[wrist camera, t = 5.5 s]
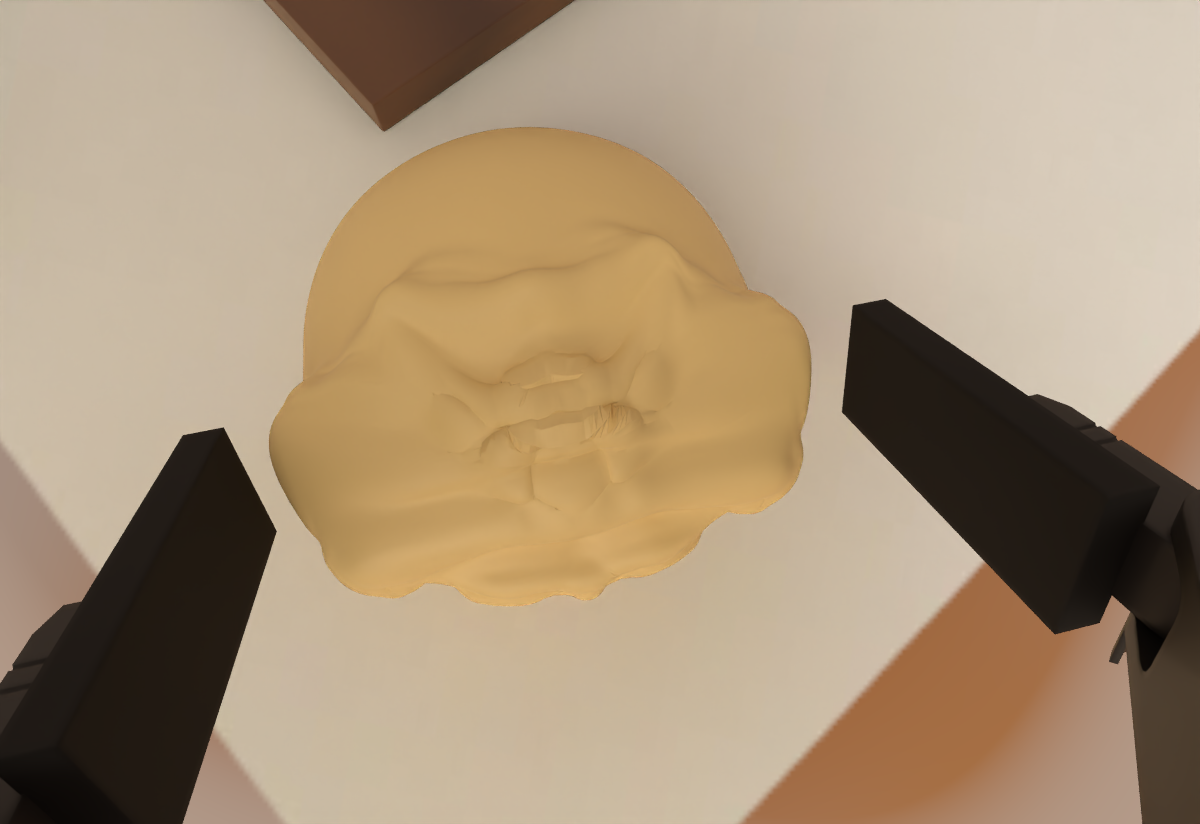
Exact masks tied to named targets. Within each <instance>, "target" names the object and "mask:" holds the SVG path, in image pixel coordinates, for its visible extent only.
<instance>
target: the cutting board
mask: <svg viewBox="0 0 1200 824" xmlns="http://www.w3.org/2000/svg"><path fill="white" fill-rule="evenodd" d="M264 1H265V3H266V4H267V5H268V6H269V7H270V8H271V9H272V10H273V11H274V12H275V14H276V15H277V16H278V17H279V18H280V19H281V20H282V21H283V22H284V23H285V24H286V26H287V27H288V28H289V29H290V30H291V31H292V32H293V33H294V34H295V35H296V37H297V38H298V39H299V40H300V41H301V42H302V43H303V44H304V45H305V46H306V48H307V49H308V50H309V51H310V52H311V53H312V54H313V55H314V56H315V57H316V58H317V60H318V61H319V62H320V63H321V64H322V65H323V66H324V67H325V68H326V69H327V71H328V72H329V73H330V74H331V75H332V76H333V77H334V78H335V79H336V80H337V81H338V83H339V84H340V85H341V86H342V87H343V88H344V89H345V90H346V91H347V92H348V94H349V95H350V96H351V97H352V98H353V99H354V100H355V101H356V102H357V103H358V105H359V106H360V107H361V108H362V109H363V110H364V111H365V112H366V113H367V114H368V115H369V117H370V118H371V119H372V120H373V121H374V122H375V123H376V124H377V125H378V126H379V128H380V129H381V130H382V131H386V130H387V129H389V128H390V127H391V126H393V125H394V124H396V123H397V122H399V121H400V120H402V119H403V118H404V117H406V116H407V115H409V114H410V113H412V112H413V111H415V110H416V109H417V108H419V107H420V106H422V105H423V104H425V103H426V102H428V101H429V100H430V99H432V98H433V97H435V96H436V95H438V94H439V93H441V92H442V91H444V90H445V89H446V88H448V87H449V86H451V85H452V84H454V83H455V82H457V81H458V80H459V79H461V78H462V77H464V76H465V75H467V74H468V73H470V72H471V71H472V70H474V69H475V68H477V67H478V66H480V65H481V64H483V63H484V62H486V61H487V60H488V59H490V58H491V57H493V56H494V55H496V54H497V53H499V52H500V51H501V50H503V49H504V48H506V47H507V46H509V45H510V44H512V43H513V42H514V41H516V40H517V39H519V38H520V37H522V36H523V35H525V34H526V33H528V32H529V31H530V30H532V29H533V28H535V27H536V26H538V25H539V24H541V23H542V22H543V21H545V20H546V19H548V18H549V17H551V16H552V15H554V14H555V13H556V12H558V11H559V10H561V9H562V8H564V7H565V6H567V5H568V4H570V3H571V2H572V1H574V0H264Z"/></svg>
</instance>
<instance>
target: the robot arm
mask: <svg viewBox="0 0 1200 824" xmlns="http://www.w3.org/2000/svg"><path fill="white" fill-rule="evenodd" d="M842 413H843V414H844V415H845V416H846V417H847V418H848V419H849V420H850V421H851V422H852V423H853V424H854V425H855V426H856V427H857V428H858V429H859V430H860V431H861V433H862V434H863V435H864V436H865V437H866V438H867V439H868V440H869V441H870V442H871V443H872V444H873V445H874V446H875V447H876V448H877V449H878V450H879V451H880V452H881V453H882V454H883V456H884V457H885V458H886V459H887V460H888V461H889V462H890V463H891V464H892V465H893V466H894V467H895V468H896V469H897V470H898V471H899V472H900V473H901V474H902V475H903V476H904V477H905V478H906V480H907V481H908V482H909V483H910V484H911V485H912V486H913V487H914V488H915V489H916V490H917V491H918V492H919V493H920V494H921V495H922V496H923V497H924V498H925V499H926V500H927V501H928V503H929V504H930V505H931V506H932V507H933V508H934V509H935V510H936V511H937V512H938V513H939V514H940V515H941V516H942V517H943V518H944V519H945V520H946V521H947V522H948V523H949V524H950V525H951V527H952V528H953V529H954V530H955V531H956V532H957V533H958V534H959V535H960V536H961V537H962V538H963V539H964V540H965V541H966V542H967V543H968V544H969V545H970V546H971V547H972V548H973V549H974V551H975V552H976V553H977V554H978V555H979V556H980V557H981V558H982V559H983V560H984V561H985V562H986V563H987V564H988V565H989V566H990V567H991V568H992V569H993V570H994V571H995V572H996V574H998V576H999V577H1000V578H1001V579H1002V580H1003V581H1004V582H1005V583H1006V584H1007V585H1008V586H1009V587H1010V588H1011V589H1012V590H1013V591H1014V592H1015V593H1016V594H1017V595H1018V596H1019V597H1020V598H1021V600H1022V601H1023V602H1024V603H1025V604H1026V605H1027V606H1028V607H1029V608H1030V609H1031V610H1032V611H1033V612H1034V613H1035V614H1036V615H1037V616H1038V617H1039V618H1040V619H1041V620H1042V622H1043V623H1044V624H1045V625H1046V626H1047V627H1048V628H1049V629H1050V630H1051V631H1052V632H1053V633H1054V634H1058V633H1062V632H1066V631H1070V630H1074V629H1078V628H1081V627H1085V626H1090V625H1094V624H1097V623H1100V620H1101V618H1102V616H1103V614H1104V612H1105V609H1106V607H1107V605H1108V603H1109V600H1110V598H1111V596H1114V597H1115V598H1116V599H1117V600H1118V601H1119V602H1120V603H1122V605H1124V606H1125V607H1126V608H1127V609H1128V610H1129V611H1130V614H1129V617H1128V618H1127V621H1126V622H1125V625H1124V627H1123V629H1122V631H1121V633H1120V635H1119V637H1118V640H1117V641H1116V643H1115V646H1114V648H1113V650H1112V652H1111V656H1110V660H1109V662H1112V663H1115V664H1118V663H1119V661H1120V659H1121V657H1122V655H1123V653H1124V652H1127V663H1128V674H1129V684H1130V695H1131V706H1132V717H1133V728H1134V738H1135V749H1136V760H1137V771H1138V781H1139V792H1140V802H1141V814H1142V824H1200V490H1197V489H1196V488H1194V487H1193V486H1191V485H1190V484H1188V483H1187V482H1185V481H1183V480H1182V479H1180V478H1179V477H1177V476H1176V475H1174V474H1173V473H1171V472H1170V471H1168V470H1167V469H1165V468H1164V467H1162V466H1161V465H1159V464H1158V463H1156V462H1154V461H1153V460H1151V459H1150V458H1148V457H1147V456H1145V455H1144V454H1142V453H1141V452H1139V451H1138V450H1136V449H1135V448H1133V447H1131V446H1130V445H1128V444H1127V443H1125V442H1124V441H1122V440H1120V441H1118V440H1117V439H1116V436H1114V435H1113V434H1112V433H1110V432H1109V431H1107V430H1105V429H1104V428H1102V427H1101V426H1100V427H1096V425H1095V422H1093V421H1092V420H1090V419H1089V418H1087V417H1086V416H1084V415H1082V414H1081V413H1079V412H1078V411H1076V410H1075V409H1073V408H1072V407H1070V406H1068V405H1065V404H1062V403H1060V402H1057V401H1054V400H1052V399H1049V398H1046V397H1044V396H1041V395H1038V394H1036V395H1031V396H1027V395H1026V394H1024V393H1023V392H1022V391H1020V390H1019V389H1017V388H1016V387H1014V386H1013V385H1011V384H1010V383H1008V382H1007V381H1005V380H1004V379H1002V378H1001V377H1000V376H998V375H997V374H995V373H994V372H992V371H991V370H989V369H988V368H986V367H985V366H983V365H982V364H980V363H979V362H978V361H976V360H975V359H973V358H972V357H970V356H969V355H967V354H966V353H964V352H963V351H961V350H960V349H958V348H957V347H956V346H954V345H953V344H951V343H950V342H948V341H947V340H945V339H944V338H942V337H941V336H939V335H938V334H936V333H935V332H933V331H932V330H931V329H929V328H928V327H926V326H925V325H923V324H922V323H920V322H919V321H917V320H916V319H914V318H913V317H911V316H910V315H909V314H907V313H906V312H904V311H903V310H901V309H900V308H898V307H897V306H895V305H894V304H892V303H891V302H889V301H888V300H887V299H884V300H879V301H874V302H868V303H863V304H858V305H853V309H852V318H851V328H850V338H849V348H848V358H847V368H846V377H845V387H844V397H843V407H842ZM276 532H277V531H276V529H275V527H274V525H273V523H272V521H271V519H270V517H269V515H268V513H267V511H266V509H265V507H264V505H263V504H262V502H261V500H260V498H259V496H258V494H257V492H256V490H255V488H254V486H253V484H252V482H251V480H250V478H249V476H248V474H247V472H246V470H245V468H244V466H243V464H242V462H241V461H240V459H239V457H238V455H237V453H236V451H235V449H234V447H233V445H232V443H231V441H230V439H229V437H228V435H227V433H226V431H225V429H224V427H223V428H218V429H213V430H208V431H203V432H198V433H193V434H187V435H183V436H182V438H181V439H180V441H179V443H178V444H177V446H176V447H175V449H174V451H173V452H172V454H171V456H170V457H169V459H168V461H167V462H166V464H165V466H164V467H163V469H162V470H161V472H160V474H159V475H158V477H157V479H156V480H155V482H154V484H153V485H152V487H151V489H150V490H149V492H148V493H147V495H146V497H145V498H144V500H143V502H142V503H141V505H140V507H139V508H138V510H137V512H136V513H135V515H134V516H133V518H132V520H131V521H130V523H129V525H128V526H127V528H126V530H125V531H124V533H123V534H122V536H121V538H120V539H119V541H118V543H117V544H116V546H115V548H114V549H113V551H112V553H111V554H110V556H109V557H108V559H107V561H106V562H105V564H104V566H103V567H102V569H101V571H100V572H99V574H98V576H97V577H96V579H95V580H94V582H93V584H92V585H91V587H90V589H89V591H88V592H87V594H86V595H85V597H84V599H83V600H82V602H77V603H72V604H68V605H63V606H62V607H61V608H60V609H59V610H58V611H57V612H56V613H55V614H54V615H53V616H52V617H51V618H50V619H49V620H47V621H46V622H45V623H44V624H43V625H42V626H41V627H40V628H39V629H38V630H37V631H36V632H35V633H34V634H32V636H31V638H30V639H29V640H28V642H27V644H26V645H25V647H24V648H23V650H22V651H21V653H20V654H19V656H18V657H17V659H16V660H15V662H14V663H13V670H12V671H8V673H7V674H6V676H5V677H4V679H3V680H2V682H1V683H0V824H182V823H183V820H184V817H185V814H186V811H187V808H188V805H189V801H190V799H191V796H192V793H193V790H194V786H195V783H196V780H197V777H198V774H199V771H200V768H201V765H202V762H203V758H204V755H205V752H206V749H207V746H208V743H209V740H210V736H211V734H212V731H213V727H214V724H215V721H216V718H217V715H218V712H219V709H220V706H221V703H222V700H223V696H224V693H225V690H226V687H227V684H228V681H229V678H230V675H231V672H232V669H233V665H234V662H235V659H236V656H237V653H238V650H239V647H240V644H241V641H242V637H243V634H244V631H245V628H246V625H247V622H248V619H249V616H250V613H251V610H252V606H253V603H254V600H255V597H256V594H257V591H258V588H259V585H260V582H261V579H262V575H263V572H264V569H265V566H266V563H267V560H268V557H269V554H270V551H271V547H272V544H273V541H274V538H275V535H276Z"/></svg>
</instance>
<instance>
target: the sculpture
mask: <svg viewBox="0 0 1200 824" xmlns="http://www.w3.org/2000/svg"><path fill="white" fill-rule="evenodd" d="M810 387H811V353H810V346H809V342H808V338H807V335H806V332H805V330H804V328H803V326H802V325H801V323H800V322H799V320H798V319H797V318H796V317H795V316H794V315H793V314H792V313H791V312H790V311H788V310H787V309H786V308H784V307H783V306H781V305H780V304H779V303H778V302H777V301H776V300H774V299H773V298H772V297H770V296H768V295H766V294H763V293H759V292H755V291H751V290H748V288H747V286H746V284H745V281H744V279H743V277H742V275H741V273H740V270H739V268H738V266H737V264H736V262H735V259H734V257H733V255H732V253H731V251H730V249H729V247H728V245H727V243H726V241H725V240H724V238H723V236H722V234H721V233H720V231H719V230H718V228H717V226H716V225H715V223H714V222H713V220H712V219H711V218H710V216H709V215H708V214H707V212H706V211H705V210H704V208H703V207H702V206H701V205H700V204H699V202H698V201H697V200H696V199H695V198H694V197H693V196H692V195H691V193H690V192H689V191H688V190H687V189H686V188H685V187H684V186H683V185H681V184H680V183H679V182H678V181H677V180H676V179H675V178H674V177H672V176H671V175H670V174H669V173H668V172H666V171H665V170H664V169H662V168H661V167H660V166H658V165H657V164H655V163H654V162H652V161H651V160H649V159H647V158H646V157H644V156H642V155H640V154H639V153H637V152H635V151H633V150H631V149H628V148H626V147H624V146H622V145H619V144H617V143H614V142H611V141H608V140H606V139H602V138H599V137H596V136H592V135H588V134H584V133H579V132H574V131H569V130H562V129H553V128H539V127H519V128H505V129H496V130H490V131H484V132H479V133H475V134H471V135H467V136H464V137H460V138H457V139H454V140H451V141H449V142H446V143H443V144H441V145H438V146H436V147H434V148H431V149H429V150H427V151H425V152H423V153H421V154H419V155H417V156H415V157H413V158H412V159H410V160H408V161H406V162H405V163H403V164H402V165H400V166H398V167H397V168H395V169H394V170H392V171H391V172H390V173H388V174H387V175H386V176H384V177H383V178H382V179H380V180H379V181H378V182H377V183H376V184H374V185H373V186H372V187H371V188H370V189H369V190H368V191H367V192H366V193H365V194H364V195H363V196H362V197H361V198H360V199H359V200H358V201H357V202H356V203H355V204H354V205H353V206H352V208H351V209H350V210H349V211H348V213H347V214H346V215H345V217H344V218H343V219H342V221H341V222H340V224H339V225H338V227H337V228H336V230H335V232H334V233H333V235H332V237H331V238H330V240H329V242H328V244H327V246H326V248H325V250H324V252H323V255H322V257H321V259H320V262H319V264H318V267H317V270H316V273H315V276H314V279H313V282H312V286H311V290H310V294H309V298H308V303H307V309H306V316H305V324H304V339H303V382H302V383H300V384H299V385H298V386H296V387H295V388H294V389H293V390H292V391H291V393H290V394H289V395H288V397H287V399H286V401H285V403H284V405H283V406H282V408H281V409H280V411H279V412H278V414H277V416H276V417H275V419H274V421H273V424H272V426H271V430H270V435H269V451H270V457H271V461H272V465H273V468H274V470H275V473H276V476H277V478H278V480H279V482H280V485H281V487H282V489H283V491H284V492H285V494H286V496H287V498H288V500H289V501H290V503H291V505H292V506H293V508H294V510H295V511H296V513H297V515H298V516H299V518H300V519H301V521H302V522H303V523H304V525H305V526H306V528H307V529H308V530H309V531H310V532H311V533H312V534H313V535H314V536H315V537H316V538H317V540H318V541H319V542H320V544H321V547H322V552H323V556H324V560H325V562H326V564H327V566H328V568H329V569H330V571H331V572H332V573H333V574H334V575H335V577H336V578H337V579H338V580H339V581H340V582H341V583H342V584H344V585H345V586H346V587H348V588H349V589H351V590H353V591H355V592H358V593H360V594H364V595H368V596H377V597H385V598H399V597H403V596H405V595H407V594H409V593H411V592H414V591H415V590H417V589H418V588H420V587H421V586H422V585H423V584H425V583H436V584H444V585H449V586H453V587H455V588H456V589H457V590H458V591H459V592H460V593H461V594H462V595H464V596H465V597H466V598H467V599H469V600H471V601H473V602H476V603H480V604H487V605H495V606H524V605H529V604H533V603H536V602H538V601H540V600H542V599H544V598H547V597H550V596H553V595H571V596H574V597H575V598H578V599H581V600H591V599H594V598H596V597H598V596H599V595H600V594H601V593H602V592H603V590H604V588H605V587H606V586H607V585H609V584H611V583H613V582H615V581H617V580H619V579H623V578H630V577H644V576H649V575H652V574H655V573H657V572H659V571H661V570H663V569H665V568H667V567H669V566H671V565H673V564H675V563H676V562H678V561H679V560H681V559H682V558H684V557H685V556H686V555H687V554H689V553H690V552H691V551H692V550H693V549H694V548H695V547H696V545H697V543H698V541H699V539H700V536H701V534H702V531H703V530H704V529H705V528H706V527H707V526H709V525H710V524H711V523H712V522H713V521H715V520H716V519H717V518H719V517H720V516H722V515H724V514H725V513H727V512H731V513H736V514H755V513H758V512H761V511H762V510H764V509H766V508H767V507H768V506H770V505H771V504H773V503H775V502H776V501H778V500H779V499H781V498H782V497H783V496H784V495H785V494H786V493H787V492H788V491H789V490H790V489H791V488H792V486H793V485H794V484H795V482H796V480H797V478H798V475H799V472H800V469H801V465H802V461H803V446H802V441H801V430H802V427H803V425H804V422H805V419H806V415H807V410H808V404H809V396H810Z"/></svg>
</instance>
